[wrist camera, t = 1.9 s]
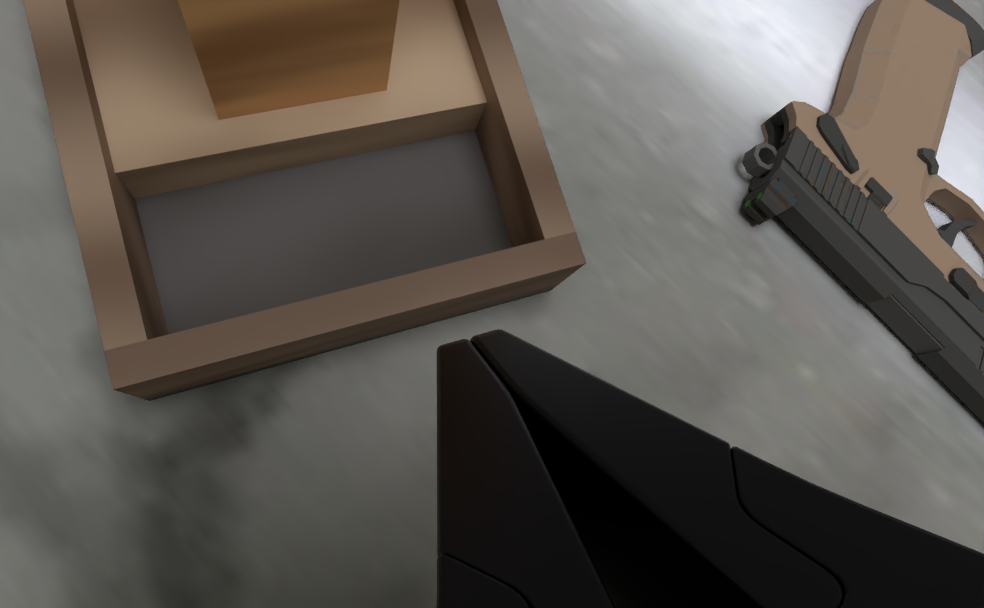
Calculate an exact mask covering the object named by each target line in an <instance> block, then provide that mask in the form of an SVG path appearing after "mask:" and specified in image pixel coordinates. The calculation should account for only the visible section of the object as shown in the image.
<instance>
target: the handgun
mask: <svg viewBox="0 0 984 608" xmlns="http://www.w3.org/2000/svg"><path fill="white" fill-rule="evenodd" d="M983 50H984V30H983V28H982V27H981V26H980V25H979V24H978V23H977V22H976V21H975V20H974V19H973V18H972V17H971V16H970V15H969V14H968V13H966V12H965V11H964V10H963V9H962V8H961V7H959V6H958V5H957V4H956V3H955V2H953V1H952V0H876V1H874V2H873V3H872V4H871V5H870V6H868V7H867V9H866V11H865V13H864V15H863V17H862V19H861V21H860V23H859V26H858V28H857V31H856V34H855V36H854V39H853V42H852V44H851V47H850V50H849V52H848V55H847V58H846V60H845V63H844V67H843V70H842V74H841V77H840V81H839V85H838V88H837V92H836V96H835V99H834V103H833V107H832V109H831V111H830V113H829V114H828V113H824V112H822V111H820V110H819V109H817V108H815V107H813V106H811V105H809V104H807V103H805V102H796V101H793V102H791V103H789V104H788V105H786V106H785V107H784V108H782V109H781V110H780V111H778V112H777V113H776V114H774V115H773V116H772V117H771V118H769V119H768V120H767V121H766V122H765V123H764V124H763V125H762V126H761V129H762V132H763V135H764V138H765V141H764V143H762V144H759V145H756V146H755V147H754V148H752V149H751V150H749V151H748V152H747V153H745V156H744V159H743V165H744V167H745V169H746V171H747V173H749V174H751V175H753V178H752V180H751V183H750V185H749V189H750V190H751V191H752V192H750V193H749V194H748V195H747V196H746V197H745V198H744V200H745V203H744V210H745V211H746V212H747V213H748V214H749V215H750V216H751V217H752V218H753V219H754V220H755V221H756V222H757V223H758V224H761V223H763V222H765V221H767V220H768V219H770V218H772V217H774V216H777V217H778V218H779V219H780V220H781V221H782V222H783V223H784V224H785V225H786V226H787V227H788V228H789V229H790V230H791V231H792V232H793V233H794V234H795V235H796V236H797V237H798V238H799V239H800V240H801V241H802V242H803V243H804V244H805V245H806V246H807V247H808V248H809V249H810V250H811V251H812V252H813V253H814V254H815V255H816V256H817V257H818V258H819V259H820V260H821V261H822V262H823V263H824V264H825V265H826V266H827V267H828V268H829V269H830V270H831V271H832V272H833V273H834V274H835V275H836V276H837V277H838V278H839V279H840V280H841V281H842V282H843V283H844V284H845V285H846V286H847V287H848V288H849V289H850V290H851V291H852V292H853V293H854V294H855V295H856V296H857V297H858V298H859V299H860V300H861V301H862V302H864V303H865V304H867V305H868V306H869V307H870V308H871V309H872V310H873V311H874V312H875V313H876V314H877V315H878V316H879V317H880V318H881V319H882V320H883V321H884V322H885V323H886V324H887V325H888V326H889V327H890V328H891V329H892V330H893V331H894V332H895V333H896V334H897V335H898V336H899V337H900V338H901V339H902V340H903V341H904V342H905V343H906V344H907V345H908V346H909V347H910V348H911V349H912V350H913V351H914V352H913V353H914V354H915V355H916V356H917V357H918V358H919V359H920V360H921V361H922V362H923V363H924V364H925V365H926V366H927V367H928V368H929V369H930V370H931V371H932V372H933V373H934V374H935V375H936V376H937V377H938V378H939V379H940V380H941V381H942V382H943V383H944V384H945V385H946V386H947V387H948V388H949V389H950V390H951V391H952V392H953V393H954V394H955V395H956V396H957V397H958V398H959V399H960V400H961V401H962V402H963V403H964V404H965V405H966V406H967V407H968V408H969V409H970V410H971V411H972V412H973V413H974V414H975V415H976V416H977V417H978V418H979V419H980V420H981V421H982V422H983V423H984V280H983V279H982V278H981V277H980V276H979V275H978V274H977V273H976V272H975V271H974V270H973V269H972V268H971V267H970V266H969V265H968V264H967V263H966V262H965V261H964V260H963V259H962V258H961V257H960V256H959V255H958V254H957V253H956V252H955V251H954V250H953V249H952V245H953V243H954V240H955V237H956V234H957V233H958V232H960V231H961V230H965V231H966V232H967V233H968V234H969V236H970V237H971V238H972V240H973V241H974V243H975V244H976V245H977V247H978V248H979V249H980V251H981V252H982V254H983V255H984V212H983V211H982V210H981V208H980V207H979V206H978V205H977V204H976V203H975V202H974V201H973V200H972V199H971V198H970V197H968V196H967V195H965V194H964V193H962V192H961V191H959V190H958V189H957V188H955V187H954V186H952V185H951V184H949V183H948V182H946V181H945V180H944V179H942V178H941V177H940V176H938V175H937V173H938V168H939V165H938V163H937V161H936V158H935V157H936V154H937V150H938V147H939V143H940V139H941V136H942V132H943V129H944V125H945V122H946V118H947V114H948V111H949V107H950V103H951V99H952V95H953V91H954V88H955V84H956V80H957V76H958V72H959V68H960V67H961V66H962V65H963V64H964V63H965V62H966V61H968V60H969V59H970V58H972V57H973V56H975V55H976V54H978V53H980V52H981V51H983ZM781 127H782V128H784V131H783V129H782V128H781ZM927 199H930V200H931V201H933V202H934V203H936V204H937V205H939V206H940V207H942V208H943V209H945V210H946V211H948V212H949V213H950V214H951V215H952V217H953V218H954V219H955V220H956V221H953V222H951V223H948V224H945V225H943V226H941V227H940V228H939V229H936V227H935V225H934V223H933V222H932V220H931V218H930V216H929V214H928V212H927V210H926V208H925V206H924V202H925V201H926V200H927Z"/></svg>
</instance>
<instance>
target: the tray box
mask: <svg viewBox="0 0 984 608" xmlns="http://www.w3.org/2000/svg"><path fill="white" fill-rule="evenodd" d="M23 1H24V6H25V10H26V14H27V19H28V23H29V27H30V32H31V36H32V40H33V45H34V49H35V53H36V58H37V62H38V66H39V70H40V75H41V79H42V83H43V88H44V92H45V96H46V101H47V105H48V109H49V114H50V118H51V122H52V127H53V131H54V135H55V140H56V144H57V148H58V153H59V157H60V161H61V166H62V170H63V174H64V179H65V183H66V187H67V192H68V196H69V200H70V205H71V209H72V213H73V218H74V222H75V226H76V231H77V235H78V239H79V244H80V248H81V252H82V257H83V261H84V265H85V270H86V274H87V278H88V283H89V287H90V291H91V295H92V300H93V304H94V308H95V313H96V317H97V321H98V326H99V330H100V334H101V339H102V343H103V347H104V352H105V356H106V360H107V365H108V369H109V373H110V378H111V382H112V386H113V390H116V391H120V392H123V393H126V394H130V395H133V396H136V397H139V398H143V399H146V400H149V401H150V400H154V399H157V398H161V397H164V396H168V395H172V394H175V393H179V392H183V391H186V390H190V389H194V388H197V387H201V386H204V385H208V384H212V383H215V382H219V381H223V380H226V379H230V378H234V377H237V376H241V375H244V374H248V373H252V372H255V371H259V370H263V369H266V368H270V367H274V366H277V365H281V364H284V363H288V362H292V361H295V360H299V359H303V358H306V357H310V356H314V355H317V354H321V353H324V352H328V351H332V350H335V349H339V348H343V347H346V346H350V345H353V344H357V343H361V342H364V341H368V340H372V339H375V338H379V337H383V336H386V335H390V334H393V333H397V332H401V331H404V330H408V329H412V328H415V327H419V326H423V325H426V324H430V323H433V322H437V321H441V320H444V319H448V318H452V317H455V316H459V315H463V314H466V313H470V312H473V311H477V310H481V309H484V308H488V307H492V306H495V305H499V304H503V303H506V302H510V301H513V300H517V299H521V298H524V297H528V296H532V295H535V294H539V293H543V292H546V291H550V290H552V289H553V288H554V287H556V286H557V285H558V284H560V283H561V282H562V281H563V280H565V279H566V278H567V277H569V276H570V275H571V274H573V273H574V272H575V271H576V270H578V269H579V268H580V267H582V266H583V265H584V264H586V261H585V258H584V255H583V252H582V249H581V246H580V243H579V240H578V237H577V235H576V232H575V229H574V226H573V223H572V220H571V217H570V214H569V211H568V208H567V205H566V202H565V199H564V196H563V193H562V190H561V188H560V185H559V182H558V179H557V176H556V173H555V170H554V167H553V164H552V161H551V158H550V155H549V152H548V149H547V146H546V143H545V140H544V138H543V135H542V132H541V129H540V126H539V123H538V120H537V117H536V114H535V111H534V108H533V105H532V102H531V99H530V96H529V93H528V91H527V88H526V85H525V82H524V79H523V76H522V73H521V70H520V67H519V64H518V61H517V58H516V55H515V52H514V49H513V46H512V43H511V41H510V38H509V35H508V32H507V29H506V26H505V23H504V20H503V17H502V14H501V11H500V8H499V5H498V2H497V0H400V1H399V8H398V15H397V22H396V29H395V36H394V43H393V50H392V57H391V64H390V71H389V78H388V85H387V90H386V91H380V92H374V93H369V94H363V95H357V96H352V97H346V98H340V99H335V100H329V101H324V102H318V103H312V104H307V105H301V106H295V107H290V108H284V109H278V110H273V111H267V112H262V113H256V114H250V115H245V116H239V117H233V118H228V119H222V120H219V119H218V116H217V113H216V110H215V107H214V104H213V101H212V99H211V96H210V93H209V90H208V87H207V84H206V81H205V78H204V75H203V72H202V69H201V67H200V64H199V61H198V58H197V55H196V52H195V49H194V46H193V43H192V40H191V38H190V35H189V32H188V29H187V26H186V23H185V20H184V17H183V14H182V11H181V8H180V6H179V3H178V0H23Z"/></svg>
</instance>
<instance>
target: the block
mask: <svg viewBox="0 0 984 608" xmlns="http://www.w3.org/2000/svg"><path fill="white" fill-rule="evenodd" d="M399 1H400V0H178V3H179V6H180V8H181V11H182V14H183V17H184V20H185V23H186V26H187V29H188V32H189V35H190V38H191V40H192V43H193V46H194V49H195V52H196V55H197V58H198V61H199V64H200V67H201V69H202V72H203V75H204V78H205V81H206V84H207V87H208V90H209V93H210V96H211V99H212V101H213V104H214V107H215V110H216V113H217V116H218V119H219V120H222V119H228V118H233V117H239V116H245V115H250V114H256V113H262V112H267V111H273V110H278V109H284V108H290V107H295V106H301V105H307V104H312V103H318V102H324V101H329V100H335V99H340V98H346V97H352V96H357V95H363V94H369V93H374V92H380V91H386V90H387V85H388V78H389V71H390V64H391V57H392V50H393V43H394V36H395V29H396V22H397V15H398V8H399Z"/></svg>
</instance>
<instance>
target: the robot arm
mask: <svg viewBox="0 0 984 608" xmlns="http://www.w3.org/2000/svg"><path fill="white" fill-rule="evenodd" d="M437 553H438V559H437V608H984V554H983V553H981V552H978V551H976V550H973V549H971V548H968V547H966V546H963V545H961V544H958V543H956V542H953V541H951V540H948V539H946V538H943V537H941V536H938V535H936V534H933V533H931V532H929V531H926V530H924V529H921V528H919V527H916V526H914V525H911V524H909V523H906V522H904V521H901V520H899V519H896V518H894V517H891V516H889V515H886V514H884V513H881V512H879V511H877V510H874V509H872V508H869V507H867V506H864V505H862V504H859V503H857V502H855V501H852V500H850V499H848V498H845V497H843V496H841V495H838V494H836V493H834V492H831V491H829V490H827V489H824V488H822V487H819V486H817V485H815V484H812V483H810V482H808V481H806V480H804V479H802V478H800V477H798V476H795V475H793V474H791V473H789V472H787V471H785V470H783V469H781V468H779V467H776V466H774V465H772V464H770V463H768V462H766V461H764V460H762V459H760V458H758V457H756V456H754V455H752V454H750V453H748V452H746V451H744V450H742V449H740V448H738V447H732V448H730V445H729V443H727V442H725V441H723V440H721V439H719V438H717V437H715V436H713V435H711V434H709V433H707V432H705V431H703V430H701V429H699V428H697V427H695V426H693V425H691V424H689V423H687V422H685V421H683V420H681V419H679V418H677V417H675V416H673V415H671V414H669V413H667V412H665V411H663V410H661V409H659V408H657V407H655V406H653V405H651V404H650V403H648V402H646V401H644V400H642V399H640V398H638V397H636V396H634V395H632V394H630V393H628V392H626V391H624V390H622V389H620V388H618V387H616V386H614V385H612V384H610V383H608V382H606V381H604V380H602V379H600V378H598V377H596V376H594V375H592V374H590V373H588V372H586V371H584V370H582V369H580V368H578V367H576V366H574V365H572V364H570V363H568V362H566V361H564V360H562V359H560V358H558V357H556V356H554V355H552V354H550V353H548V352H546V351H544V350H542V349H540V348H538V347H536V346H534V345H532V344H530V343H528V342H526V341H524V340H522V339H520V338H518V337H516V336H514V335H512V334H510V333H508V332H506V331H503V330H494V331H490V332H487V333H483V334H480V335H476V336H473V337H472V338H471V340H470V341H469V340H466V339H462V340H458V341H455V342H451V343H448V344H444V345H441V346H439V347H438V349H437Z"/></svg>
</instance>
